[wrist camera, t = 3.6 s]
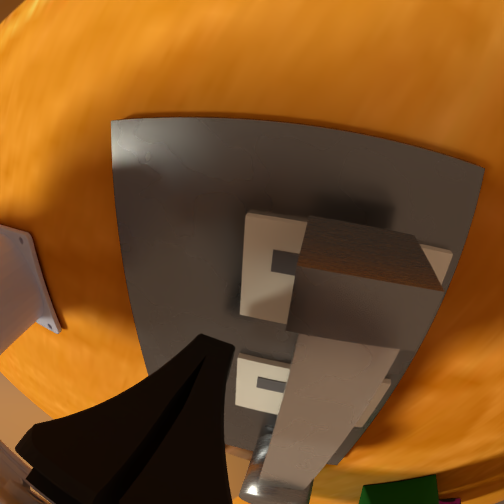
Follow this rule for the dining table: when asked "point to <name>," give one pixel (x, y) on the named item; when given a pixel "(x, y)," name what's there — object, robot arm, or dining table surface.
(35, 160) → the dining table surface
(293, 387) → the bar
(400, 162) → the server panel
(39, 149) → the dining table surface
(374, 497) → the milk carton
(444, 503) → the candy bar box
